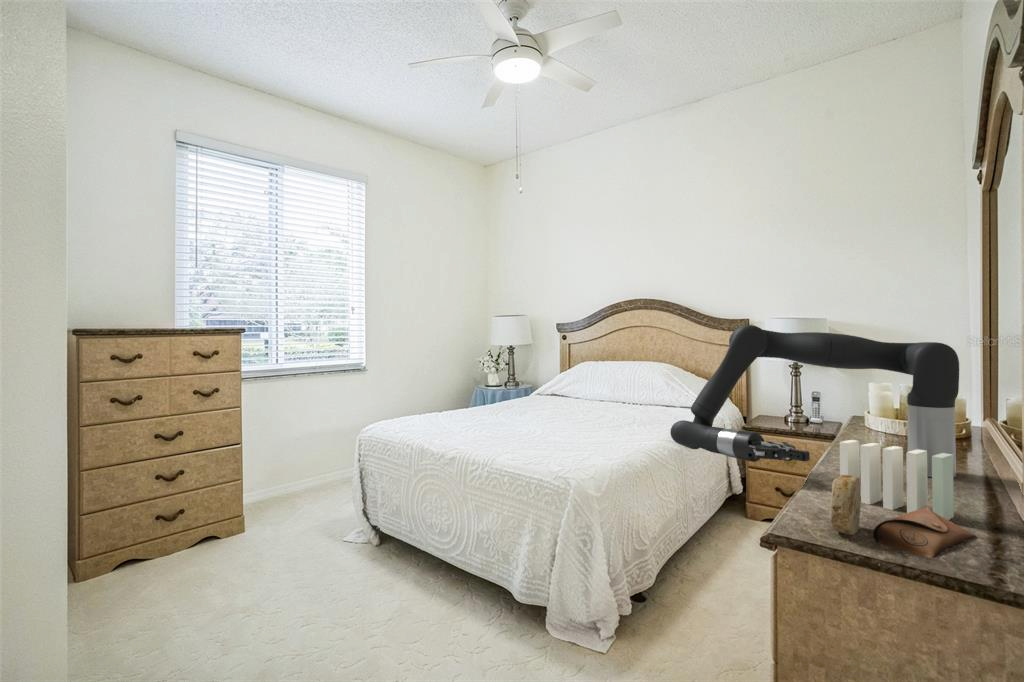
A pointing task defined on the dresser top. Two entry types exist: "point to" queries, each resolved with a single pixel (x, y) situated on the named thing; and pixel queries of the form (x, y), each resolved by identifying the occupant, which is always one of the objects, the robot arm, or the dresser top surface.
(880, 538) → the sunglasses case
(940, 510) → the domino
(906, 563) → the dresser top surface
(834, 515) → the stone disc
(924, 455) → the domino
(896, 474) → the domino
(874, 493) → the domino
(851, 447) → the domino
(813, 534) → the dresser top surface
